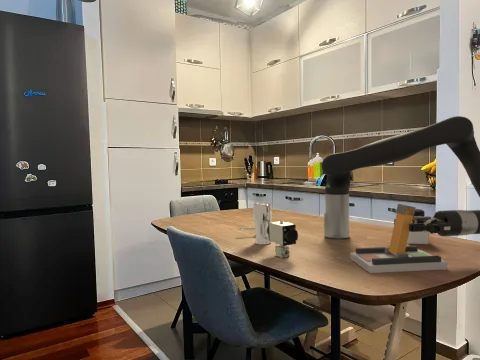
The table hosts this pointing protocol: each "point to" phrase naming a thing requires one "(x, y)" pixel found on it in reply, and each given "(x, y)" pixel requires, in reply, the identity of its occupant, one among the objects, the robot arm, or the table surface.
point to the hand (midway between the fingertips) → (401, 225)
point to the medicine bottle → (418, 236)
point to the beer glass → (262, 222)
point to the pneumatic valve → (282, 236)
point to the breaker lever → (401, 229)
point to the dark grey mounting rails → (399, 259)
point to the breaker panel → (366, 263)
